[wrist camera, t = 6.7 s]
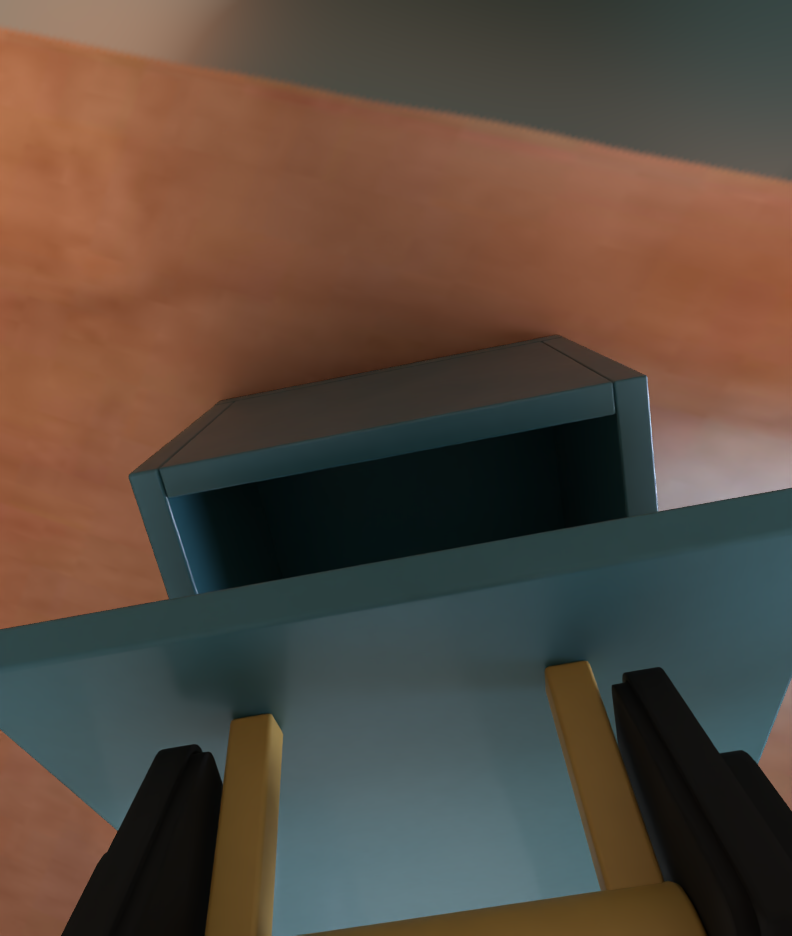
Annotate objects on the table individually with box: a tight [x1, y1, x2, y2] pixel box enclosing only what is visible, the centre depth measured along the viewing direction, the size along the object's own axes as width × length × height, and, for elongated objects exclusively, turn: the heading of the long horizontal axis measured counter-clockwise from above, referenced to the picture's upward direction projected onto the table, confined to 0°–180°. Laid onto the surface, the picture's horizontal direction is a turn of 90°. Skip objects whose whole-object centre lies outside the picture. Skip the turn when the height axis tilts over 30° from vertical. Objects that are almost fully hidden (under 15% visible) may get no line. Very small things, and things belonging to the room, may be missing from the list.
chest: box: [129, 335, 658, 599], centre depth 22 cm, size 16×13×9 cm
